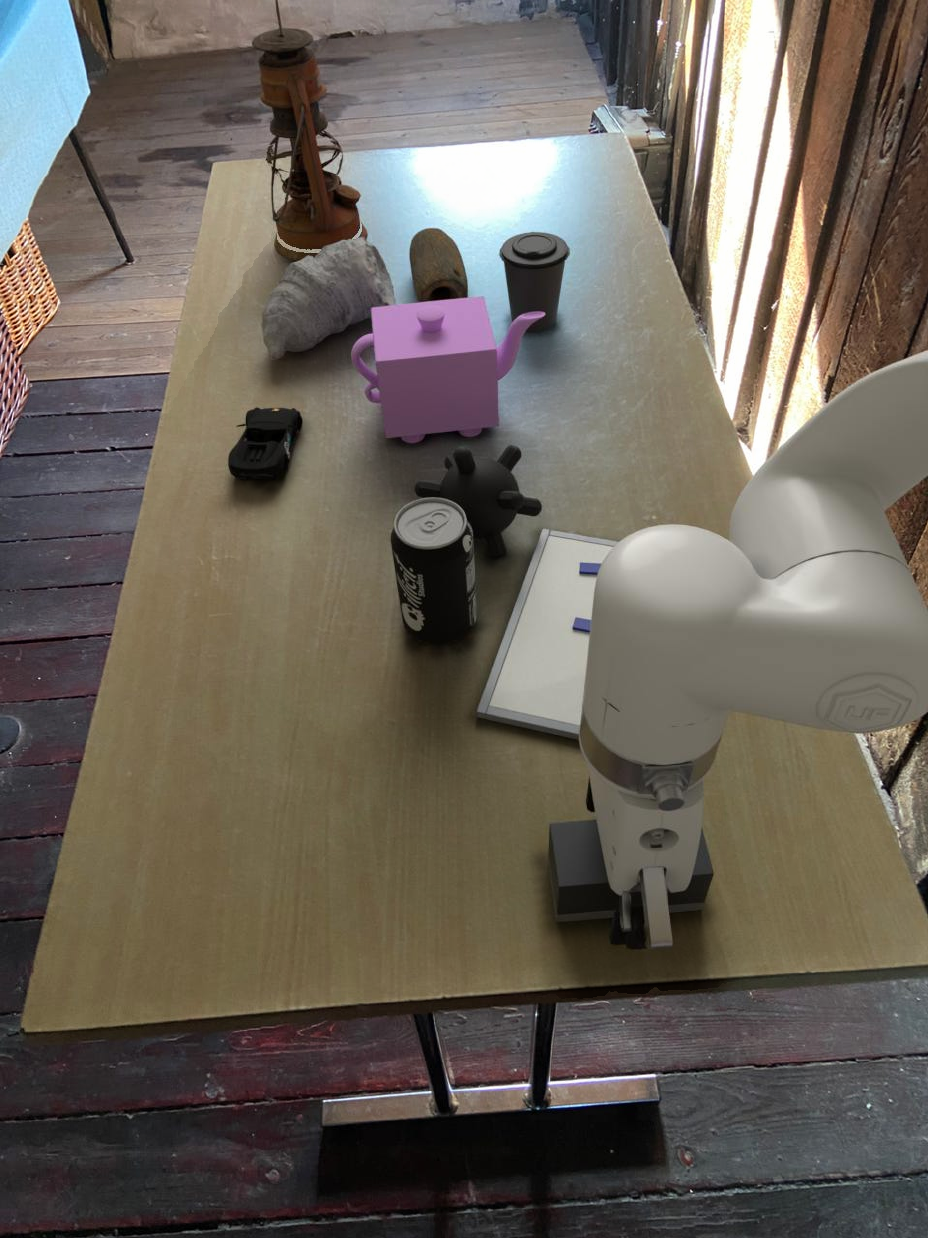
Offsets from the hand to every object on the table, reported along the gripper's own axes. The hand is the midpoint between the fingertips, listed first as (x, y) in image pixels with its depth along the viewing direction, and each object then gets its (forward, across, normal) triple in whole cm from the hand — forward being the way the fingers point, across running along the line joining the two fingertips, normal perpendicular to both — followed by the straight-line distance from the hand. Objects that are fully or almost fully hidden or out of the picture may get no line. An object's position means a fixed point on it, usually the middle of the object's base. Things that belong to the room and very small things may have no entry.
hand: (620, 869), depth 64 cm
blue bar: (+2, +30, -4) cm, 30 cm away
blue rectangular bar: (+2, +23, -3) cm, 23 cm away
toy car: (+3, +52, +28) cm, 59 cm away
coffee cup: (+3, +73, -3) cm, 73 cm away
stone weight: (+3, +80, +8) cm, 81 cm away
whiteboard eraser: (+2, 0, 0) cm, 2 cm away
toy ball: (+3, +37, +7) cm, 38 cm away
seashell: (+3, +74, +22) cm, 77 cm away
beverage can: (+3, +26, +11) cm, 28 cm away
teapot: (+3, +56, +8) cm, 56 cm away
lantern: (+3, +98, +24) cm, 101 cm away
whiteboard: (+2, +23, -3) cm, 23 cm away
